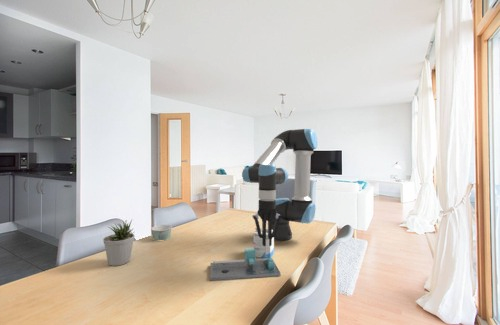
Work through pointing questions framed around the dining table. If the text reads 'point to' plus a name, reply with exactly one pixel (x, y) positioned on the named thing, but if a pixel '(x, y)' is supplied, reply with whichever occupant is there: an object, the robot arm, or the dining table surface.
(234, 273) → the bolt plate
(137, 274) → the dining table surface
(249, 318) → the dining table surface
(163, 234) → the food container
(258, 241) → the ink box
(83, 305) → the dining table surface
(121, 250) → the potted plant
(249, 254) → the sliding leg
